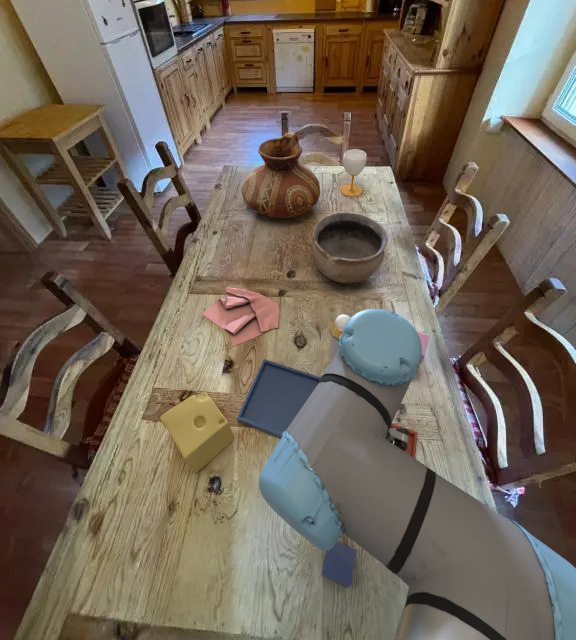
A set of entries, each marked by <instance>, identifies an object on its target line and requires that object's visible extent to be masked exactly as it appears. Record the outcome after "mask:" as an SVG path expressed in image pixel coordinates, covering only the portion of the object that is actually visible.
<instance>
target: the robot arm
mask: <svg viewBox="0 0 576 640" xmlns="http://www.w3.org/2000/svg"><path fill="white" fill-rule="evenodd" d="M417 332H418V331H417V330H416V328H415V327H414V325H413V324H412V323H411V322H410V321H408V320H407V319H406V318H404V317H403V316H401V315H400V314H398V313H396V312H393V311H391V310H388V309H385V308H367V309H363V310H360V311H358V312H356V313H354V314H353V315H352V316H351V317H350V319H349V320H348V321H347V322H346V324H345V326H344V328H343V332H342V335H341V336H340V338H339V343H338V347H339V350H338V352H337V354H336V355H335V357H334V358H333V360H332V361H331V363H330V364H329V363H328V366H327V367H326V369H325V371H323V373H322V375H321V376H320V377H321V379H320V381H319V383H318V385H317V386H316V388H315V389H314V391H313V392H312V394H311V395H310V397H309V398H308V399H307V401H306V402H305V404H304V405H303V407H302V408H301V410H300V411H299V412H298V414H297V415H296V417H295V418H294V420H293V421H292V423H291V424H290V426H289V427H288V428H287V430H286V431H284V432H283V434H282V435H281V437H282V438H281V439H280V438H279V441H278V443H277V444H276V446H275V448H274V449H273V451H272V453H270V456H269V458H268V459H267V461H266V464H265V466H264V467H263V469H262V470H261V472H260V475H259V478H258V487H259V488H258V489H259V492H260V494H261V496H262V498H263V500H264V501H265V502H266V504H267V505H268V506H269V507H270V508H271V509H272V510H273V511H274V513H276V514H277V515H278V516H279V517H280V518H281V519H282V520H283V521H284V522H285V523H286V524H287V525H289V526H290V527H291V528H292V529H293V530H294V531H295V532H296V533H297V534H299V535H300V536H302V537H303V538H304V539H306V541H308V542H309V543H310V544H311V545H312V546H314V547H316V548H317V549H319V550H321V551H324V552H326V551H329V550H331V549H332V548H333V547H334V546H335V544H336V542H337V541H338V540H339V539H341V538H342V537H343V535H345V536H346V537H348V539H350V540H351V541H353V542H354V543H355V544H357V545H358V546H359V547H361V549H363V550H364V551H365V552H367V554H370V556H372V557H373V558H374V559H376V560H377V561H379V562H380V563H381V564H382V565H383V566H384V567H385V568H386V569H387V570H388V571H390V572H391V573H392V574H394V575H395V576H397V577H398V578H399V579H400V580H401V581H402V582H403V583H404V584H405V585H406V586H407V587H408V588H407V593H406V594H407V595H406V598H405V603H404V607H403V608H402V610H401V613H400V617H399V621H398V623H397V627H396V631H395V634H394V638H393V640H576V567H575V566H574V565H573V564H571V562H570V561H568V560H566V559H565V558H564V557H563V556H561V555H560V554H558V553H557V552H556V551H554V550H553V549H552V548H550V547H549V546H547V545H546V544H545V543H544V542H542V541H541V540H540V539H538V538H536V537H535V536H534V535H532V534H531V533H530V532H529V531H528V530H526V529H525V527H523V526H522V525H520V524H519V523H517V522H516V521H515V520H512V519H510V518H508V517H505V516H504V515H502V514H500V513H499V512H497V511H495V510H494V509H493V508H491V507H489V506H488V505H486V503H485V504H484V503H483V502H482V501H480V500H478V499H477V498H475V497H474V496H472V495H471V494H470V493H468V492H466V491H464V490H463V489H461V488H460V487H458V486H457V485H456V484H453V483H452V482H450V481H449V480H447V479H446V478H444V477H443V476H441V475H439V474H438V473H437V472H436V471H434V470H432V469H431V468H430V467H428V466H426V465H425V464H423V463H422V462H420V461H419V460H418V459H416V457H415V458H413V457H412V456H410V455H409V454H407V453H406V452H404V451H406V450H407V445H408V435H409V430H410V429H409V428H406V427H403V428H399V429H396V428H392V426H391V424H393V422H394V419H395V417H396V415H397V413H398V411H399V408H400V406H401V404H402V402H403V401H404V398H405V396H406V394H407V391H408V389H409V387H410V385H411V383H412V382H413V381H414V380H415V378H416V376H417V374H418V371H419V369H420V367H419V361H420V358H421V354H422V344H421V340H420V337H419V335H418V333H419V332H418V333H417ZM418 368H419V369H418ZM416 373H417V374H416ZM415 375H416V376H415ZM414 377H415V378H414ZM413 379H414V380H413ZM412 380H413V381H412ZM408 429H409V430H408ZM388 438H389V439H388ZM386 439H388V440H386Z"/></svg>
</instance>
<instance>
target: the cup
mask: <svg viewBox="0 0 576 640" xmlns="http://www.w3.org/2000/svg"><path fill="white" fill-rule="evenodd" d="M342 158H343V168H344V170H345V172H346V173H347V174H348V175H349V176H351V181H350V183H347V184H343V185H342V186H341V187H340V192H341V193H342V194H343V195H345V196H347V197H358V196H360V195H361V194H362V193H363V188H362V187H361V186H360V185H358V184H355V183H354V180H355V176H356V177H357V176H358V175H360V174H361V173H362V172H363V170H364V169H365V167H366V164H367V159H368V158H367V153H366V151H364V150H362V149H357V148H353V149H352V148H351V149H348V150H346V151H345V152H344V153H343V157H342Z"/></svg>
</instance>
